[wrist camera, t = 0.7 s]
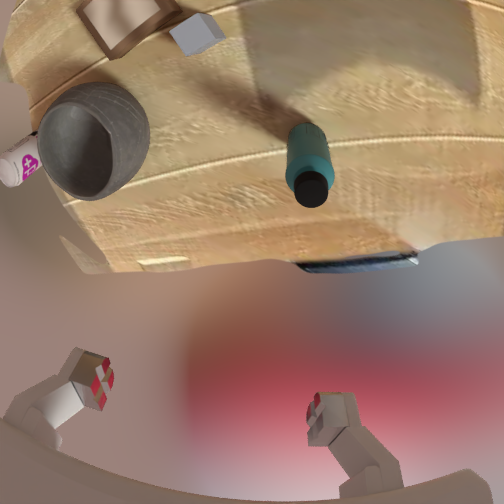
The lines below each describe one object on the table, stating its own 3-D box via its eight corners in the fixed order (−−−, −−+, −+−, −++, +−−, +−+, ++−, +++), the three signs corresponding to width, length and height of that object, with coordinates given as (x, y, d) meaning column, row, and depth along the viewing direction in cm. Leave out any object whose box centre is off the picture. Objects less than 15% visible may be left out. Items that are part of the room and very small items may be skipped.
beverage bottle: (280, 133, 47) (269, 190, 32) (310, 111, 44) (317, 158, 29) (303, 160, 50) (304, 228, 35) (333, 140, 46) (350, 201, 32)
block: (211, 15, 34) (197, 12, 29) (226, 38, 37) (215, 38, 31) (185, 30, 36) (168, 31, 31) (200, 53, 39) (186, 56, 34)
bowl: (64, 105, 46) (15, 134, 35) (134, 51, 39) (82, 65, 28) (109, 181, 58) (72, 221, 47) (183, 146, 51) (150, 185, 40)
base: (144, -39, 26) (132, -43, 23) (182, 11, 33) (172, 10, 30) (88, 9, 32) (74, 10, 29) (121, 57, 39) (108, 61, 36)
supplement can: (61, 132, 51) (17, 164, 40) (57, 161, 56) (17, 195, 45) (39, 120, 48) (-6, 150, 37) (36, 148, 54) (-4, 180, 43)
